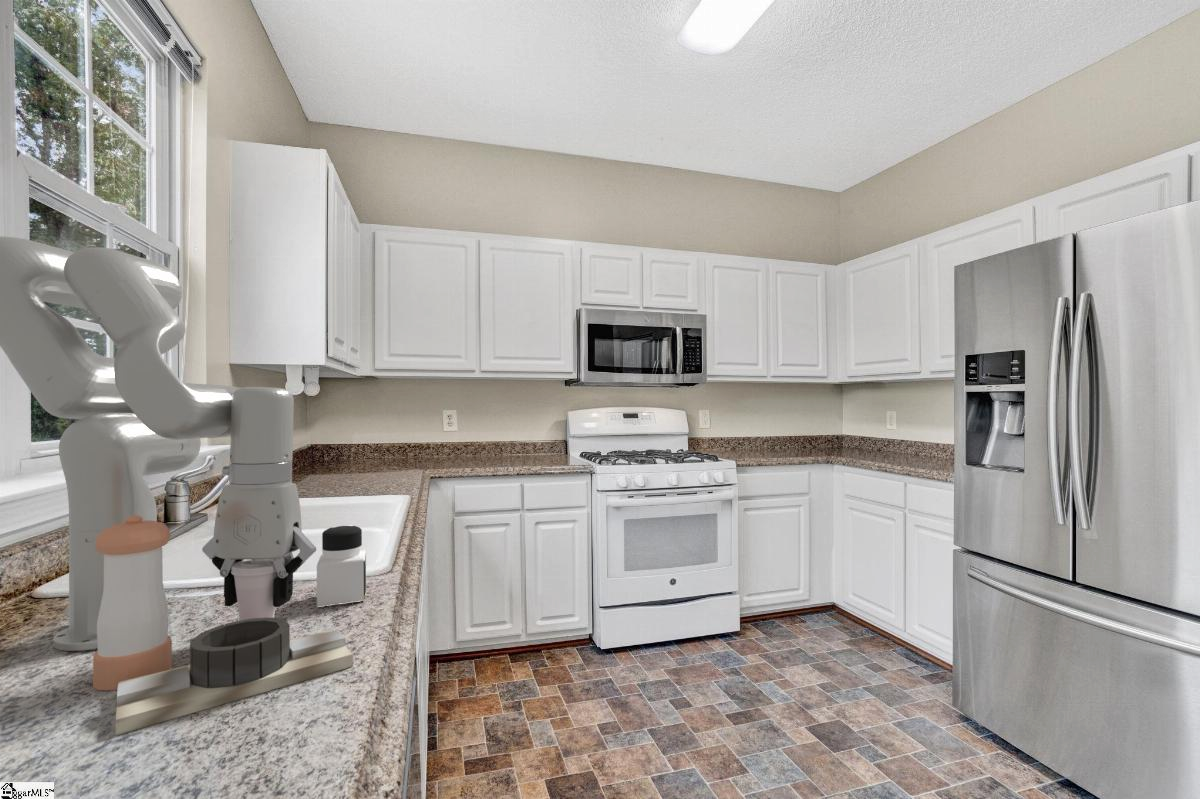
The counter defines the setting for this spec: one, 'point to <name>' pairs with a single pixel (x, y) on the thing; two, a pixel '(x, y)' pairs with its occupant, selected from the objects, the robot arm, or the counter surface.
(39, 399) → the robot arm
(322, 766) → the counter surface
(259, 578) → the smoothie
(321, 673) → the socket rail
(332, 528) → the medicine bottle
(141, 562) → the pepper shaker
